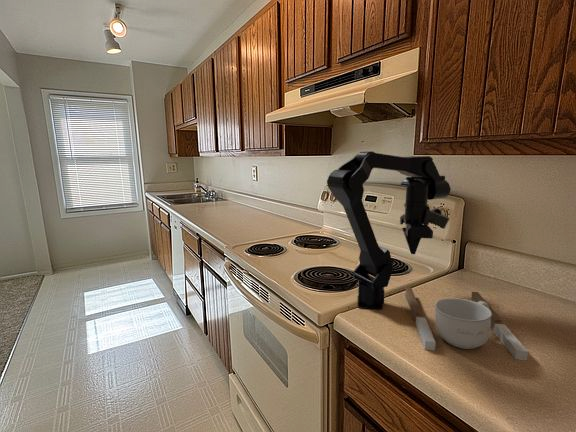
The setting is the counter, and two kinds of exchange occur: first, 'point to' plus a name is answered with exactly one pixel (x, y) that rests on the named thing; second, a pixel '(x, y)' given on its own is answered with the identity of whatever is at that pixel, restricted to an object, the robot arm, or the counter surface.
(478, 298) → the cradle
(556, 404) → the counter surface
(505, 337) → the marker right
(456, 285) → the counter surface
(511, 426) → the counter surface
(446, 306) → the teacup
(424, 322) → the bar
